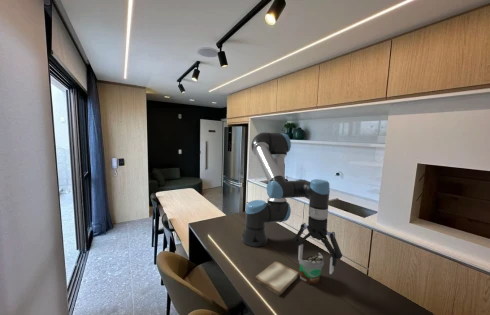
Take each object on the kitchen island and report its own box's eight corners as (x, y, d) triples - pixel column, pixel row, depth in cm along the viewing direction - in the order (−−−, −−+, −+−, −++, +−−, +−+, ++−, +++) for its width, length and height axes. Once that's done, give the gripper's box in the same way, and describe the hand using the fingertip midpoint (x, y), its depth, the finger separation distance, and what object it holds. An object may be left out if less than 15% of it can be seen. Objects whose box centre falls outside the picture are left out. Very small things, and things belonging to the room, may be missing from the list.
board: (254, 281, 85) (254, 276, 85) (275, 264, 97) (275, 260, 97) (279, 296, 77) (279, 291, 77) (298, 276, 89) (298, 272, 89)
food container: (307, 290, 81) (309, 266, 80) (297, 280, 87) (298, 258, 86) (328, 281, 87) (330, 259, 86) (317, 272, 92) (319, 252, 92)
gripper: (287, 211, 90) (284, 257, 91) (347, 228, 73) (343, 283, 75) (295, 207, 95) (292, 250, 97) (353, 222, 79) (349, 274, 80)
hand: (315, 265), depth 86 cm, fingers open, 13 cm apart
